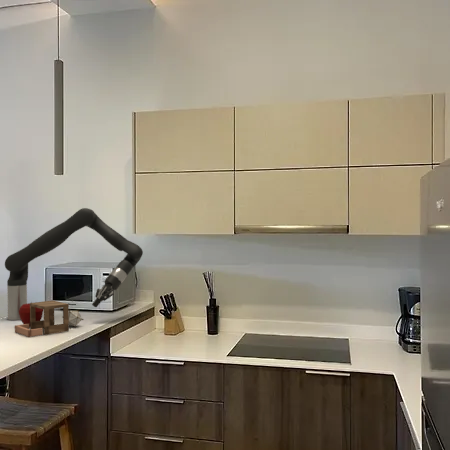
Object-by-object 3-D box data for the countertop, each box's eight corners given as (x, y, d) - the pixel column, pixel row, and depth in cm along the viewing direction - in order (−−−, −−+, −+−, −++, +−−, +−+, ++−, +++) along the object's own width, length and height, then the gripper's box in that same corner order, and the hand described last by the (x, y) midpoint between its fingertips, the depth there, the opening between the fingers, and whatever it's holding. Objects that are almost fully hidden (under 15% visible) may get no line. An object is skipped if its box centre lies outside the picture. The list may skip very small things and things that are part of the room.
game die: (69, 334, 239) (62, 316, 243) (86, 326, 241) (79, 308, 246) (65, 328, 231) (58, 309, 235) (83, 320, 234) (76, 302, 238)
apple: (43, 323, 248) (43, 299, 248) (44, 327, 238) (43, 302, 238) (18, 325, 244) (18, 300, 244) (18, 329, 234) (18, 303, 234)
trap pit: (14, 332, 227) (14, 325, 227) (28, 330, 231) (28, 323, 231) (28, 337, 216) (28, 330, 216) (42, 335, 221) (42, 328, 221)
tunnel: (30, 329, 232) (29, 303, 232) (53, 326, 240) (52, 300, 240) (45, 335, 221) (45, 306, 221) (68, 331, 228) (68, 304, 228)
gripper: (104, 272, 258) (82, 299, 249) (118, 274, 248) (96, 302, 240) (113, 282, 261) (92, 309, 253) (127, 284, 252) (106, 312, 243)
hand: (94, 306), depth 246 cm, fingers closed
